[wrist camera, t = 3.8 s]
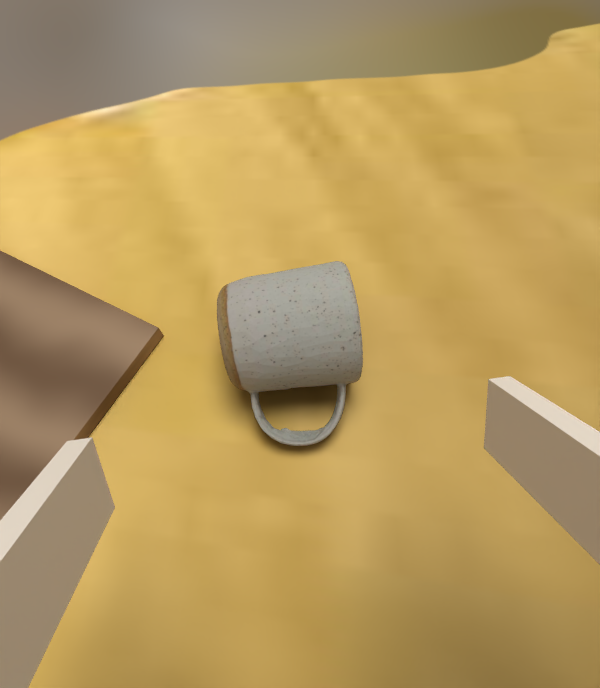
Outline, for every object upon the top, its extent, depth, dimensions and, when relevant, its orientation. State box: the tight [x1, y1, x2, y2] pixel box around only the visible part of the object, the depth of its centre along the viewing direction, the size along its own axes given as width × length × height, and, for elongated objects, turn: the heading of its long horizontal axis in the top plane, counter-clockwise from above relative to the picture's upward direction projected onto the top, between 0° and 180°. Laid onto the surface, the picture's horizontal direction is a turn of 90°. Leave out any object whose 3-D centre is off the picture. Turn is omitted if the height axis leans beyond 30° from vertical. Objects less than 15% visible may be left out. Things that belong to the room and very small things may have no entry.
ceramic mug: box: [217, 261, 363, 446], centre depth 24 cm, size 11×8×8 cm
